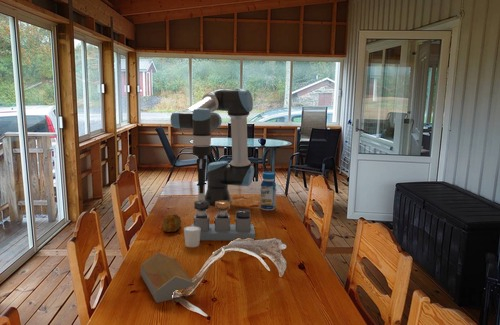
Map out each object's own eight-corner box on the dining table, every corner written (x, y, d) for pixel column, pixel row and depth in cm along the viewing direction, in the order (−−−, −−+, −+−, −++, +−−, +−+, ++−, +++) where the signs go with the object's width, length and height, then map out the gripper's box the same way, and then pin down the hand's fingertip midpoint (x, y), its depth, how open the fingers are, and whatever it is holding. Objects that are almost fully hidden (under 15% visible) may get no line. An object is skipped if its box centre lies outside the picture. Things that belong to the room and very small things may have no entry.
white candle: (194, 240, 164) (194, 224, 163) (204, 245, 159) (204, 228, 158) (180, 244, 159) (180, 228, 158) (190, 249, 154) (190, 232, 153)
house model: (195, 295, 120) (195, 272, 118) (155, 304, 114) (154, 280, 113) (176, 269, 137) (175, 249, 136) (140, 276, 131) (139, 255, 130)
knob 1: (194, 216, 172) (194, 200, 171) (209, 216, 172) (209, 200, 171) (193, 221, 166) (193, 204, 164) (208, 221, 166) (208, 204, 165)
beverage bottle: (278, 209, 212) (279, 173, 209) (266, 211, 207) (267, 174, 204) (269, 205, 219) (270, 170, 216) (257, 207, 214) (257, 172, 211)
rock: (160, 238, 177) (162, 218, 183) (179, 239, 179) (180, 220, 185) (163, 227, 169) (165, 207, 174) (182, 229, 171) (184, 209, 176)
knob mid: (215, 216, 172) (215, 200, 171) (229, 216, 173) (230, 200, 171) (214, 221, 166) (214, 204, 165) (229, 221, 166) (230, 204, 165)
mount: (191, 230, 176) (191, 212, 174) (253, 230, 177) (253, 212, 176) (188, 240, 164) (188, 220, 163) (255, 240, 165) (255, 221, 164)
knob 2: (235, 224, 173) (235, 208, 172) (249, 225, 174) (250, 209, 173) (235, 229, 167) (236, 213, 166) (250, 229, 168) (250, 213, 166)
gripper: (194, 143, 170) (194, 196, 174) (191, 147, 157) (191, 203, 161) (211, 143, 170) (211, 196, 174) (209, 147, 157) (209, 204, 161)
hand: (201, 199), depth 167 cm, fingers closed
